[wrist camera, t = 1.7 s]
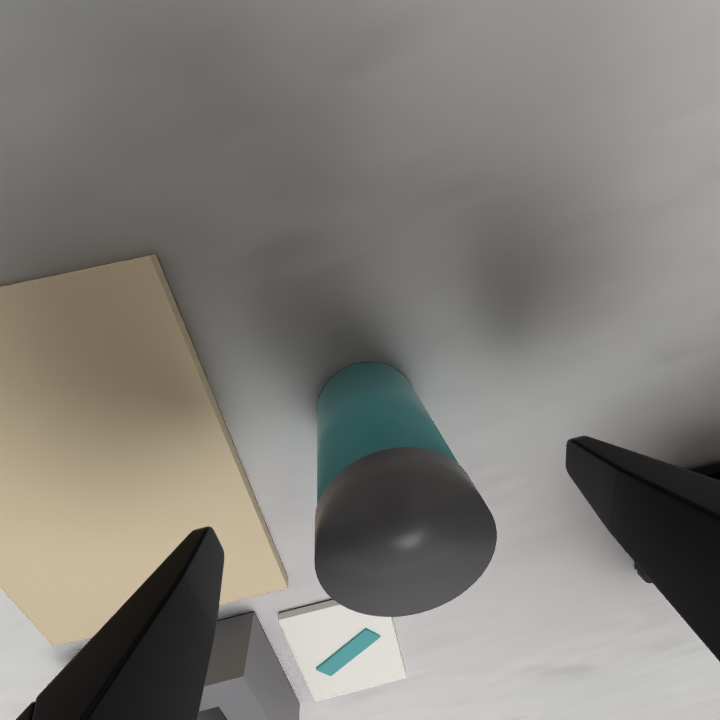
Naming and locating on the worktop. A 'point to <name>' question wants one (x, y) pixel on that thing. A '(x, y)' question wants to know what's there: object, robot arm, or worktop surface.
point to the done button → (211, 714)
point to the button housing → (247, 674)
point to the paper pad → (112, 450)
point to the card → (342, 648)
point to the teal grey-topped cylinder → (392, 500)
